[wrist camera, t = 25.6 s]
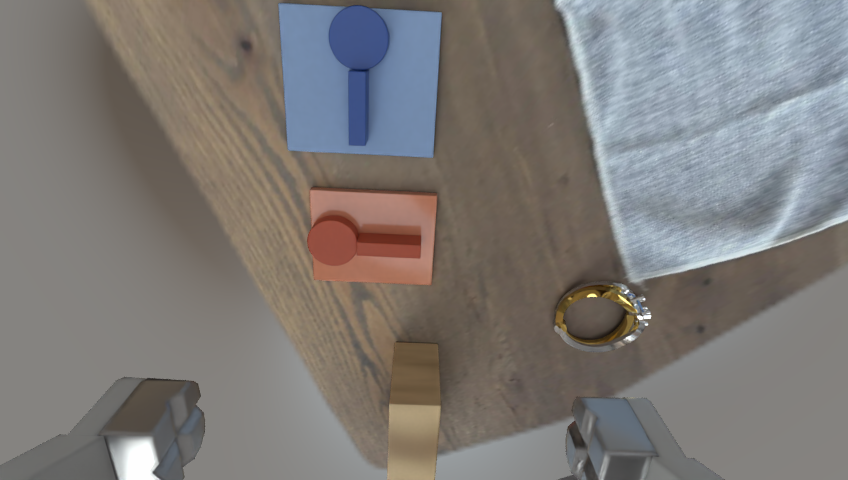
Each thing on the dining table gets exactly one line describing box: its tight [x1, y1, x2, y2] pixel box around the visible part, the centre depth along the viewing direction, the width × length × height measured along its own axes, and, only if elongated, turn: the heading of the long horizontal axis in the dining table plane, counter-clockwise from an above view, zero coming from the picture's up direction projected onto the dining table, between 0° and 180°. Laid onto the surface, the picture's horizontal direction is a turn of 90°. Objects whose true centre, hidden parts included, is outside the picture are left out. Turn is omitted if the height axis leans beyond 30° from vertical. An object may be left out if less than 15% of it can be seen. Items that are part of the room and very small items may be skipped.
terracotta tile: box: [310, 187, 437, 285], centre depth 39 cm, size 8×10×1 cm
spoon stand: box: [387, 342, 441, 480], centre depth 42 cm, size 9×4×8 cm, turn 177°
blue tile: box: [278, 3, 442, 158], centre depth 34 cm, size 10×11×1 cm
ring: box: [553, 282, 651, 352], centre depth 41 cm, size 7×3×8 cm
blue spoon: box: [329, 5, 390, 146], centre depth 33 cm, size 9×4×2 cm, turn 177°
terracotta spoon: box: [307, 215, 421, 266], centre depth 38 cm, size 9×4×2 cm, turn 87°
